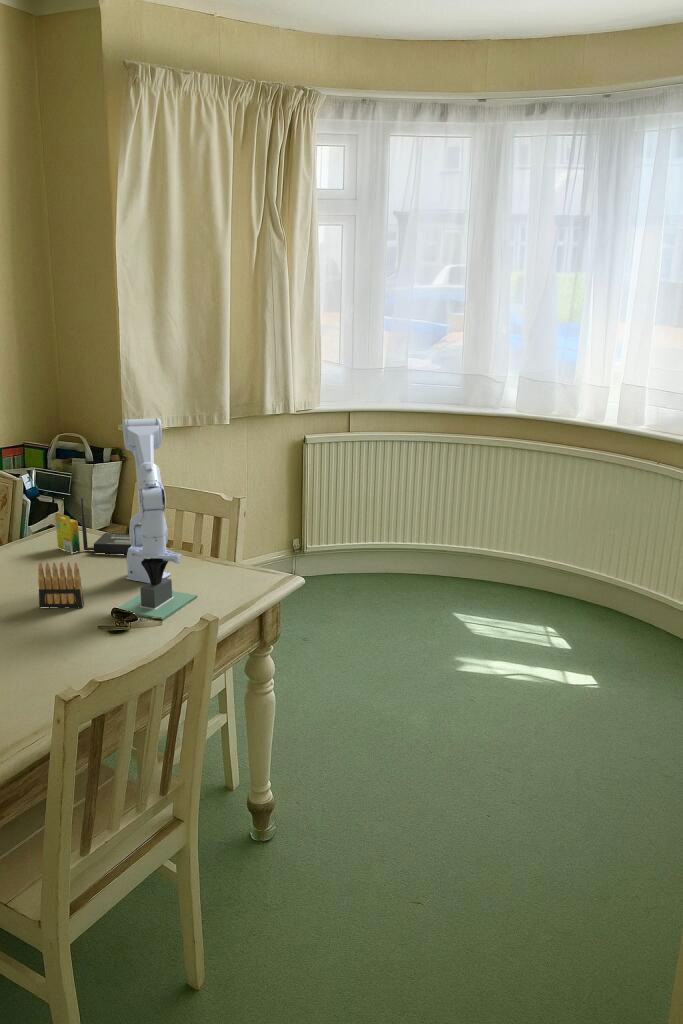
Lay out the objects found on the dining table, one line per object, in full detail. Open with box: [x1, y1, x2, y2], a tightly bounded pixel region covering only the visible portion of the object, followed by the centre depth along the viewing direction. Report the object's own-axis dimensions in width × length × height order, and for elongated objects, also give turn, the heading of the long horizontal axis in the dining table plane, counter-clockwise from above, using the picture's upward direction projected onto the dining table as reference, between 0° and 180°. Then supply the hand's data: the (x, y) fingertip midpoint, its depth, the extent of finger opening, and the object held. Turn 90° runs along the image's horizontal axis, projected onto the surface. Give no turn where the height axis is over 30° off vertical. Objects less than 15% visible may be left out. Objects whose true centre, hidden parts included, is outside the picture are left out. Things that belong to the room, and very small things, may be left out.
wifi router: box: [80, 497, 131, 555], centre depth 254 cm, size 20×14×17 cm
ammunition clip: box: [37, 561, 85, 609], centre depth 213 cm, size 11×2×12 cm, turn 93°
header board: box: [117, 590, 198, 621], centre depth 217 cm, size 14×16×3 cm
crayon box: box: [54, 512, 81, 552], centre depth 253 cm, size 7×3×12 cm, turn 52°
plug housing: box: [140, 577, 173, 609], centre depth 216 cm, size 4×8×5 cm, turn 159°
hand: (156, 585), depth 216 cm, fingers closed, pressing on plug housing
